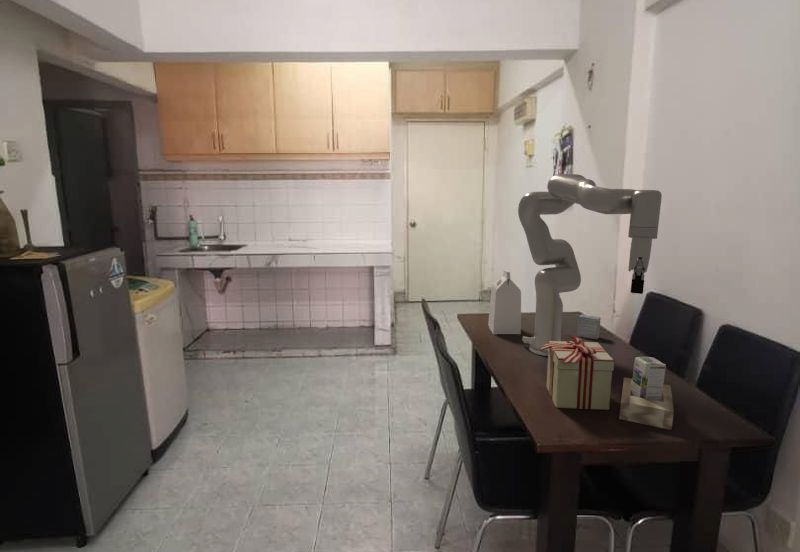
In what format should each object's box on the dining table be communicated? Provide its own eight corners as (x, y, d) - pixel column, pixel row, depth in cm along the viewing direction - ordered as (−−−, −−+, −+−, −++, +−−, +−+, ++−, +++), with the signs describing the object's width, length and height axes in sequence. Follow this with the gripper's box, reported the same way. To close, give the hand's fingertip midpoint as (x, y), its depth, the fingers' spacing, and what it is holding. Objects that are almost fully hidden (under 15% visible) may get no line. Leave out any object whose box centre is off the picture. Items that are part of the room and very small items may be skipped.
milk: (520, 334, 193) (524, 273, 189) (493, 334, 194) (496, 273, 189) (514, 326, 205) (517, 268, 200) (488, 326, 205) (490, 268, 201)
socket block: (619, 418, 123) (621, 401, 122) (622, 393, 138) (623, 377, 138) (671, 429, 117) (673, 411, 116) (668, 401, 133) (670, 385, 132)
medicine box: (599, 337, 191) (601, 316, 190) (597, 340, 188) (599, 319, 186) (579, 333, 195) (580, 314, 194) (576, 336, 192) (578, 316, 190)
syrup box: (628, 405, 130) (633, 356, 128) (648, 405, 131) (654, 356, 128) (639, 415, 125) (645, 364, 122) (660, 414, 125) (667, 364, 123)
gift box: (532, 386, 143) (535, 332, 140) (592, 387, 142) (597, 333, 139) (547, 412, 126) (552, 352, 123) (616, 413, 126) (622, 353, 122)
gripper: (629, 230, 145) (624, 283, 148) (627, 234, 129) (621, 294, 133) (656, 231, 141) (650, 286, 144) (658, 236, 126) (651, 297, 129)
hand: (636, 290), depth 138 cm, fingers open, 9 cm apart
